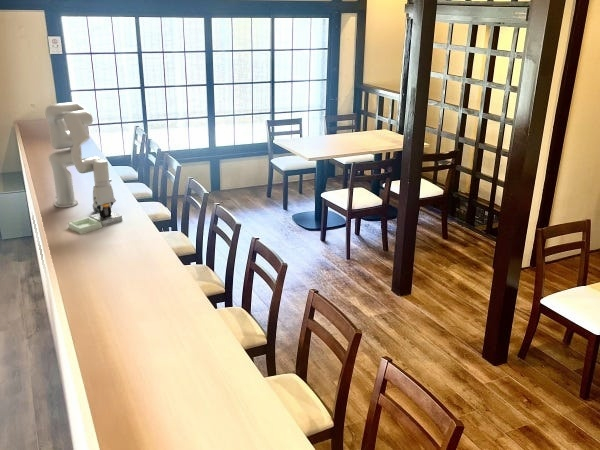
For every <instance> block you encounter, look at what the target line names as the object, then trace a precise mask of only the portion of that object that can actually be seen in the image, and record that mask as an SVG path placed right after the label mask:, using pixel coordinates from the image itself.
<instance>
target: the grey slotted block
mask: <svg viewBox="0 0 600 450" xmlns="http://www.w3.org/2000/svg"><path fill="white" fill-rule="evenodd" d="M89 217H90V218H92V219H94V220H96V221H99V222H101V224H102V228H103V227H106V226H110V225H112V224H116V223H119V222H122V221H123V215H121V214H119V213H116V212H114V211H112V210H111V215H109V217H106V218H103V217H101V216H100V213H95V214H91V215H89Z"/></svg>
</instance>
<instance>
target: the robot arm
mask: <svg viewBox="0 0 600 450" xmlns="http://www.w3.org/2000/svg"><path fill="white" fill-rule="evenodd" d="M44 112H45V113H44V114H45V119H46V121H47V123H48V128H49V131H48V132H49V140H50V145H51V148H53V149H54V150H58V151H54V152H51V153H50V154H49V157H48V158H49V164H50V166H51V170H52V174H53V175H52V176H53V182H54V188H55V195H56V196H55V198H56V201H55V202H54V206H55V207H57V208H63V209H64V208H65V209H66V208H71V207H75V206H77V205H78V204H79V201H78V200H77V199H75V190H74V185H73V175H72V173H71V172H70V170H69V169H68V168H69V167H72V166H74V167H75V169H76V171H77V172H78V173H79V174H87V173H92V172H93V180H94V186H93V188H92V202H93V203H92V208H93V207H95V208H97V209H99V213H100V216H101V217H104V210H103V204H107V203H109V207H108V210H109V215H111V211H112V207H113V205H114V204H115V203H116V202H117V200H116V199H115V195H114V189H113V186H112V184H111V182H112V178H110V175H109V174H110V172H109V163H108V161H107V160H106V159H103V158H101V157H100V156H98V155H96V156H89V157H85V158H83V152H82V145H84V144H86V143H87V142H88V141H89V139H90V135H89V133H88V131H87V128H86V126H91V125H92V124H93V121H94V120H93V116H92V114H91V112H90V111H89V110H88V109H87V108H86V107H84V106H83V105H82V104H80V103H78V102H77V101H76V102H74V101H70V102H69V101H68V102H60V103H59V102H58V103H52V104H49V105H47V106H46V108H45V110H44ZM96 204H98V206H97V205H96Z"/></svg>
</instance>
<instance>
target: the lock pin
mask: <svg viewBox="0 0 600 450" xmlns="http://www.w3.org/2000/svg"><path fill="white" fill-rule="evenodd" d="M108 207H109V203H107V204H103V210H104V217H103V218H106V217H109V210H108Z"/></svg>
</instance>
